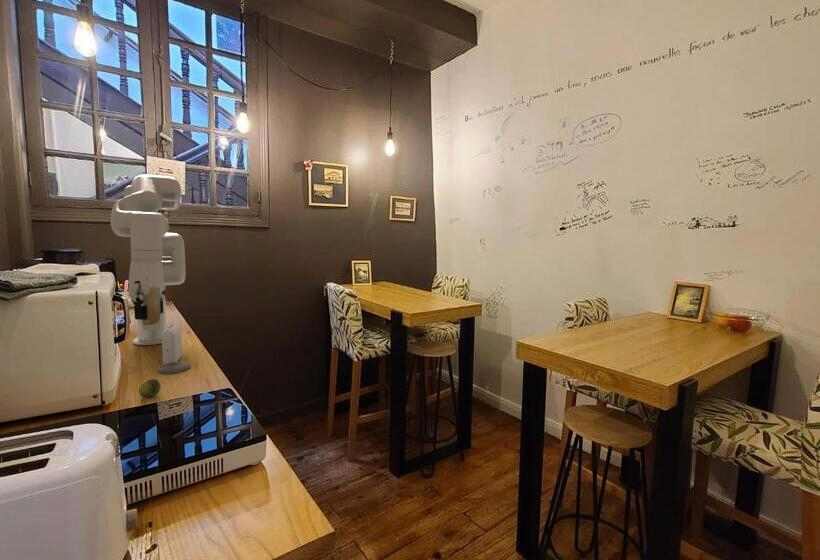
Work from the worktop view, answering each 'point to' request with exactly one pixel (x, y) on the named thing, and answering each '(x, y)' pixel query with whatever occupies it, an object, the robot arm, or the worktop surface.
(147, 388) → the lime
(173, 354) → the photo printer
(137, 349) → the worktop surface
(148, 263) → the robot arm
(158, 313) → the skincare box
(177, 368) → the coaster
